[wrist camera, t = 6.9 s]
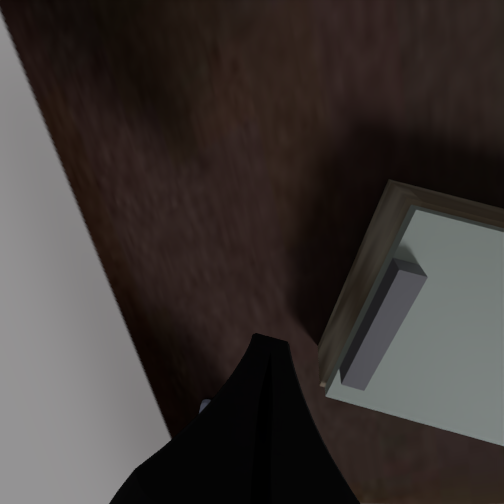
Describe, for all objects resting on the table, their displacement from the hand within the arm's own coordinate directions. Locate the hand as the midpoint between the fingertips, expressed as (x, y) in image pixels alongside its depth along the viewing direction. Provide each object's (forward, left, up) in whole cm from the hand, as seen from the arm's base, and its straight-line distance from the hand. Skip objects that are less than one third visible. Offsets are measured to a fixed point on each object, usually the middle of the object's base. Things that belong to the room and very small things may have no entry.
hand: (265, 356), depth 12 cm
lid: (0, -10, -5) cm, 11 cm away
